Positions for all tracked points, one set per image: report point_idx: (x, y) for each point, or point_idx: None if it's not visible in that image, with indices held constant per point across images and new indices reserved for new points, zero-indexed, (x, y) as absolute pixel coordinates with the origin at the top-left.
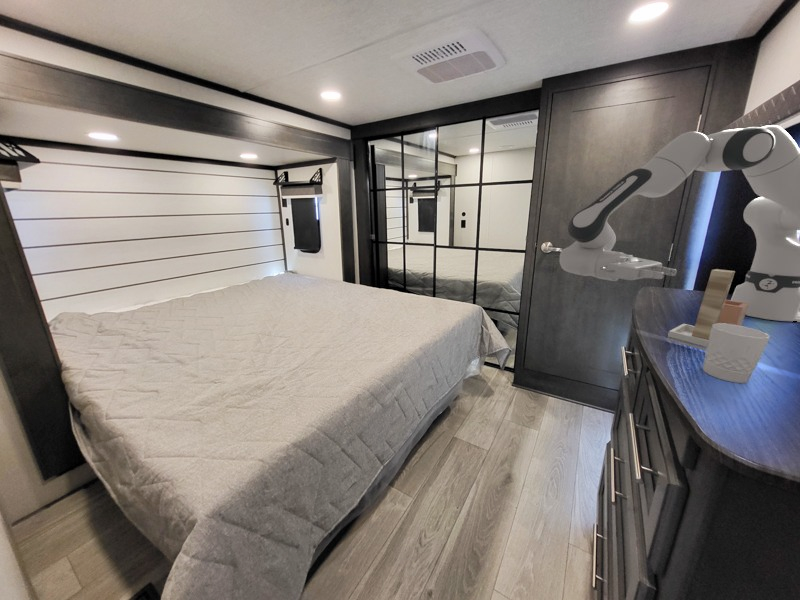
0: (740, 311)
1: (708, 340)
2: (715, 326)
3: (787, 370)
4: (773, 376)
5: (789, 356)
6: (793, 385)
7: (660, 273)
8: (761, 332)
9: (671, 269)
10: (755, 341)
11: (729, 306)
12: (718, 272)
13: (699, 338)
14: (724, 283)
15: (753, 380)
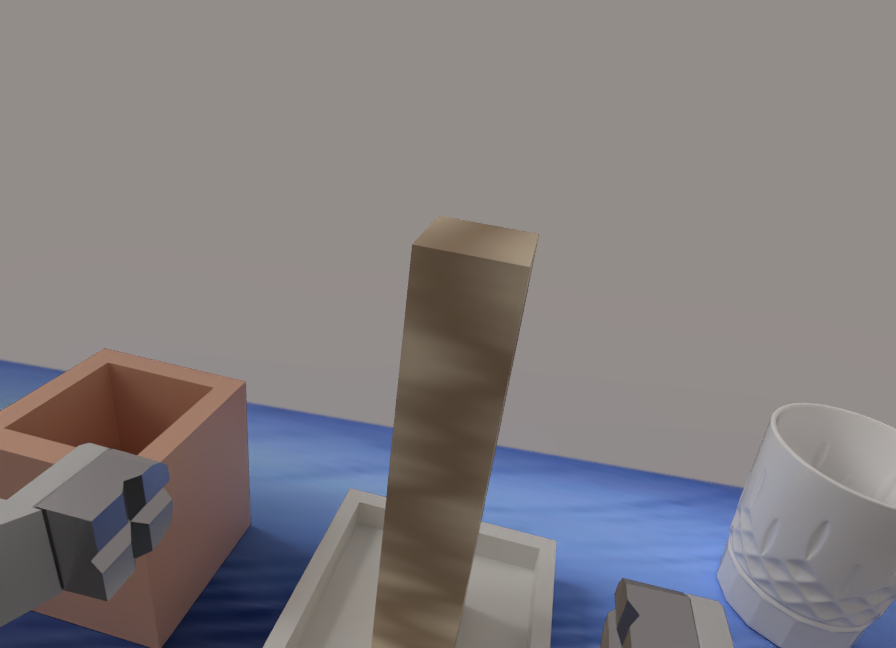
0: (244, 402)
1: (891, 572)
2: (879, 511)
3: (520, 456)
4: (621, 492)
5: (357, 426)
6: (647, 471)
7: (722, 620)
8: (786, 411)
9: (123, 484)
10: (894, 444)
11: (218, 415)
12: (531, 264)
13: (541, 626)
14: (522, 315)
15: (726, 537)
